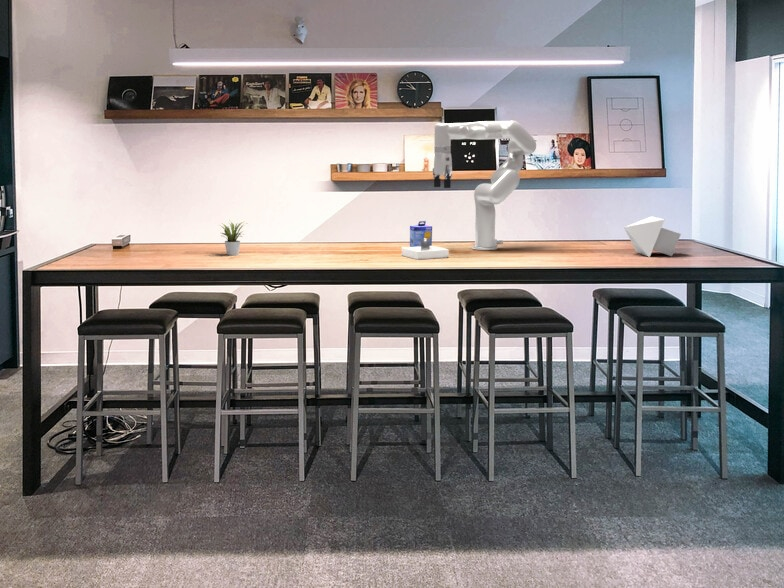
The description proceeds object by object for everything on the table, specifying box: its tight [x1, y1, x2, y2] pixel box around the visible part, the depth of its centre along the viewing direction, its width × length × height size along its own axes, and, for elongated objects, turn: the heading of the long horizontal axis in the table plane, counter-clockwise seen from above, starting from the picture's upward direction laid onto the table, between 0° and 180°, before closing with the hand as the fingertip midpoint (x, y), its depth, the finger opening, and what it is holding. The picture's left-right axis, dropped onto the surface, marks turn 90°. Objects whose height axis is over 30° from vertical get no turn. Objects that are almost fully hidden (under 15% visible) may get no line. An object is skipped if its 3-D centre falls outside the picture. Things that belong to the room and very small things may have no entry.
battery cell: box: [421, 238, 430, 251], centre depth 364 cm, size 4×4×8 cm
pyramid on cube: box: [623, 215, 682, 258], centre depth 369 cm, size 17×24×18 cm
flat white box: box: [401, 245, 450, 261], centre depth 365 cm, size 16×16×4 cm
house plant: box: [219, 220, 248, 256], centre depth 371 cm, size 14×14×16 cm
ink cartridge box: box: [409, 220, 433, 247], centre depth 383 cm, size 10×6×14 cm, turn 115°
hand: (442, 187), depth 377 cm, fingers open, 9 cm apart
